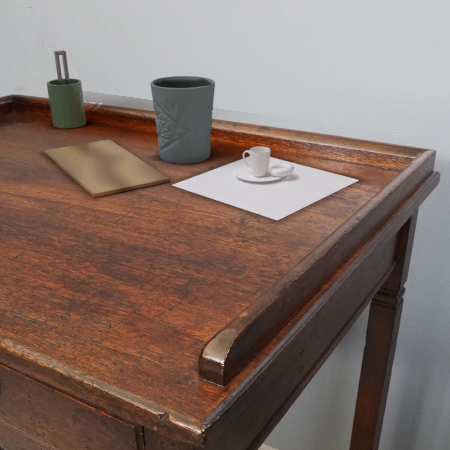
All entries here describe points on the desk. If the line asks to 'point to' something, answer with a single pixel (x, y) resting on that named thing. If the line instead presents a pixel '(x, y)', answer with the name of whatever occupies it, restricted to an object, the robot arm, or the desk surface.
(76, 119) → the green cup
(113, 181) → the cork mat
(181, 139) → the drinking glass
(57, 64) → the tongs
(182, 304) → the desk surface
